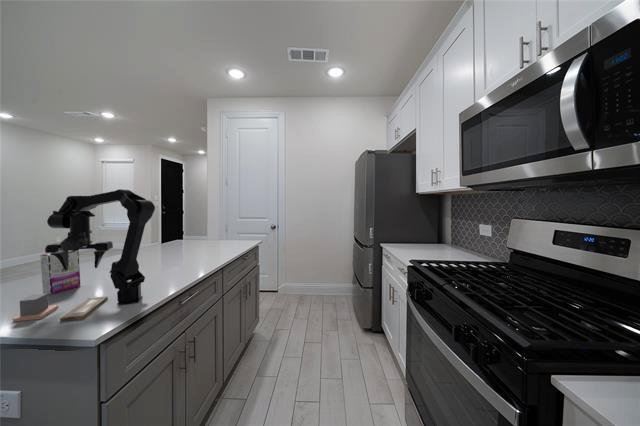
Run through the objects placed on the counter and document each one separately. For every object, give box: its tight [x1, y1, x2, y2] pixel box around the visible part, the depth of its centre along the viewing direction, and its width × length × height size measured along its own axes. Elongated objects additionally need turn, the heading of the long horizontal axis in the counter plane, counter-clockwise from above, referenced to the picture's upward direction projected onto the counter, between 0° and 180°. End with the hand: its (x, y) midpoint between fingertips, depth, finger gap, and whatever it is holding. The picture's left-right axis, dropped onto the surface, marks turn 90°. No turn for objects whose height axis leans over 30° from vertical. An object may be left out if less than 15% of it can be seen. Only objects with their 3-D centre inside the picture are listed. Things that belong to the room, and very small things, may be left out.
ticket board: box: [59, 296, 108, 323], centre depth 93 cm, size 6×18×1 cm, turn 19°
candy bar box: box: [40, 250, 81, 295], centre depth 112 cm, size 11×5×16 cm, turn 168°
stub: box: [12, 293, 59, 322], centre depth 88 cm, size 7×9×6 cm
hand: (81, 268), depth 101 cm, fingers open, 9 cm apart
